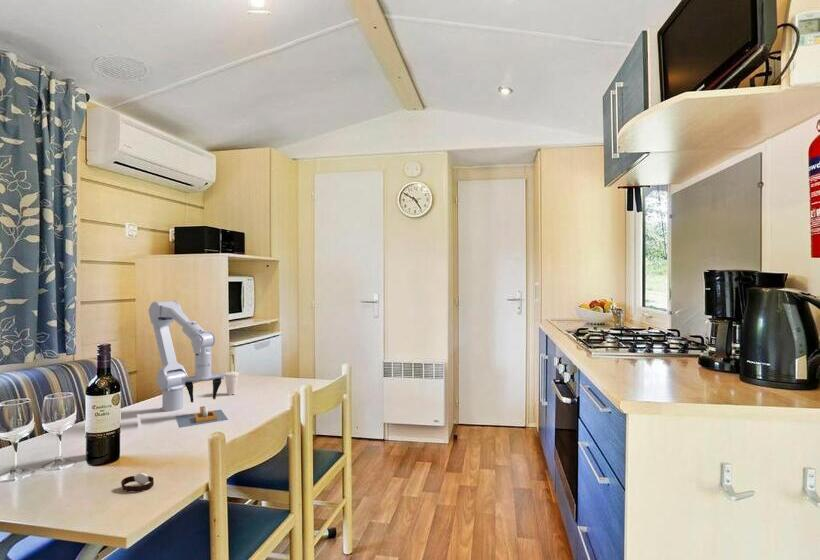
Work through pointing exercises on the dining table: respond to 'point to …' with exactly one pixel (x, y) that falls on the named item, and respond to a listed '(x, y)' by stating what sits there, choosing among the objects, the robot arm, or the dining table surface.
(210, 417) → the loop
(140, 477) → the watch
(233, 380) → the smoothie
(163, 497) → the dining table surface
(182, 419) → the stand
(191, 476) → the dining table surface
